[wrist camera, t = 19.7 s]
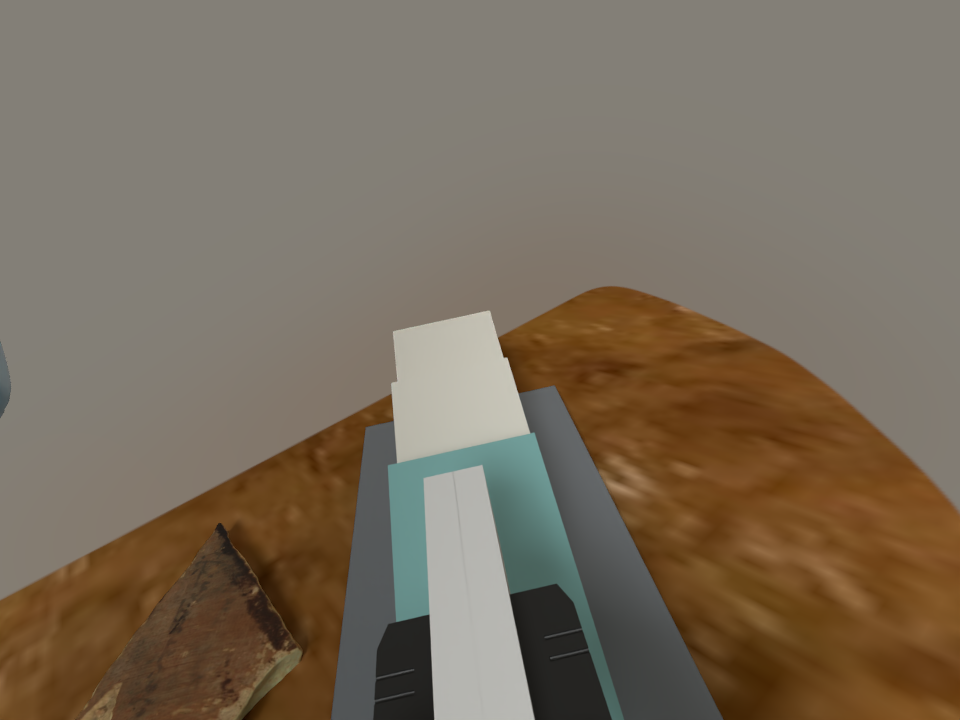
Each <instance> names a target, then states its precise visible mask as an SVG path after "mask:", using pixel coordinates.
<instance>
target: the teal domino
mask: <svg viewBox="0 0 960 720" xmlns="http://www.w3.org/2000/svg"><path fill="white" fill-rule="evenodd" d="M480 465H483V470H484V474H485V479H486V483H487V487H488V492H489V496H490V501H491V505H492V510H493V514H494V519H495V523H496V528H497V532H498V536H499V541H500V545H501V550H502V555H503V560H504V565H505V569H506V574H507V579H508V584H509V589H510V594H513V593H518V592H522V591H526V590H531V589H535V588H539V587H544V586H548V585H552V584H558V585H559V586H560V588H561V589H562V590H563V591H564V592H565V593H566V594H567V595H568V597H569V598H570V599H571V600H572V601H573V602H574V605H575V608H576V611H577V614H578V617H579V620H580V623H581V626H582V630H583V632H584V636H585V639H586V642H587V645H588V648H589V652H590V654H591V657H592V660H593V663H594V666H595V669H596V672H597V675H598V678H599V681H600V684H601V687H602V690H603V693H604V697H605V700H606V703H607V706H608V709H609V712H610V715H611V718H612V720H624V718H623V714H622V711H621V708H620V705H619V702H618V698H617V695H616V692H615V689H614V686H613V682H612V679H611V676H610V673H609V670H608V666H607V663H606V660H605V657H604V654H603V650H602V647H601V644H600V641H599V638H598V634H597V631H596V628H595V625H594V622H593V618H592V615H591V612H590V609H589V606H588V602H587V599H586V596H585V593H584V590H583V586H582V583H581V580H580V577H579V574H578V570H577V567H576V564H575V561H574V558H573V554H572V551H571V548H570V545H569V542H568V538H567V535H566V532H565V529H564V526H563V522H562V519H561V516H560V513H559V510H558V506H557V503H556V500H555V497H554V494H553V490H552V487H551V484H550V481H549V478H548V474H547V471H546V468H545V465H544V462H543V458H542V455H541V452H540V449H539V446H538V442H537V439H536V436H535V433H530V434H526V435H522V436H517V437H513V438H508V439H504V440H499V441H495V442H490V443H486V444H481V445H477V446H472V447H468V448H463V449H459V450H454V451H450V452H445V453H441V454H436V455H432V456H427V457H423V458H418V459H414V460H410V461H405V462H401V463H396V464H392V465H388V479H389V498H390V516H391V535H392V553H393V572H394V590H395V609H396V622H399V621H403V620H407V619H412V618H416V617H420V616H425V615H429V614H430V612H429V590H428V568H427V546H426V523H425V501H424V479H423V478H426V477H431V476H435V475H440V474H444V473H448V472H453V471H457V470H462V469H466V468H471V467H475V466H480Z"/></svg>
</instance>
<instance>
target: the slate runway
mask: <svg viewBox="0 0 960 720" xmlns="http://www.w3.org/2000/svg"><path fill="white" fill-rule="evenodd" d="M518 395H519V398H520V401H521V405H522V408H523V411H524V414H525V418H526V421H527V424H528V428H529V431H530V433H535V436H536V439H537V442H538V446H539V449H540V452H541V455H542V458H543V462H544V465H545V468H546V471H547V474H548V478H549V481H550V484H551V487H552V490H553V494H554V497H555V500H556V503H557V506H558V510H559V513H560V516H561V519H562V522H563V526H564V529H565V532H566V535H567V538H568V542H569V545H570V548H571V551H572V554H573V558H574V561H575V564H576V567H577V570H578V574H579V577H580V580H581V583H582V586H583V590H584V593H585V596H586V599H587V602H588V606H589V609H590V612H591V615H592V618H593V622H594V625H595V628H596V631H597V634H598V638H599V641H600V644H601V647H602V650H603V654H604V657H605V660H606V663H607V666H608V670H609V673H610V676H611V679H612V682H613V686H614V689H615V692H616V695H617V698H618V702H619V705H620V708H621V711H622V714H623V718H624V720H723V718H722V716H721V714H720V712H719V710H718V708H717V706H716V704H715V702H714V700H713V698H712V696H711V694H710V692H709V690H708V688H707V686H706V684H705V682H704V680H703V678H702V676H701V675H700V673H699V671H698V669H697V667H696V665H695V663H694V661H693V659H692V657H691V655H690V653H689V651H688V649H687V647H686V645H685V643H684V641H683V639H682V637H681V635H680V633H679V631H678V629H677V627H676V625H675V623H674V621H673V619H672V617H671V615H670V613H669V611H668V609H667V607H666V605H665V603H664V601H663V599H662V597H661V595H660V593H659V591H658V589H657V587H656V585H655V583H654V581H653V579H652V577H651V575H650V574H649V572H648V570H647V568H646V566H645V564H644V562H643V560H642V558H641V556H640V554H639V552H638V550H637V548H636V546H635V544H634V542H633V540H632V538H631V536H630V534H629V532H628V530H627V528H626V526H625V524H624V522H623V520H622V518H621V516H620V514H619V512H618V510H617V508H616V506H615V504H614V502H613V500H612V498H611V496H610V494H609V492H608V490H607V488H606V486H605V484H604V482H603V480H602V478H601V476H600V474H599V473H598V471H597V469H596V467H595V465H594V463H593V461H592V459H591V457H590V455H589V453H588V451H587V449H586V447H585V445H584V443H583V441H582V439H581V437H580V435H579V433H578V431H577V429H576V427H575V425H574V423H573V421H572V419H571V417H570V415H569V413H568V411H567V409H566V407H565V405H564V403H563V401H562V399H561V397H560V395H559V393H558V391H557V389H556V387H555V386H550V387H546V388H541V389H537V390H532V391H528V392H523V393H519V394H518ZM396 463H397V454H396V441H395V428H394V421H392V422H388V423H383V424H378V425H374V426H369V427H366V431H365V439H364V448H363V456H362V464H361V473H360V481H359V490H358V498H357V506H356V515H355V523H354V531H353V540H352V548H351V557H350V565H349V573H348V582H347V590H346V598H345V607H344V615H343V624H342V632H341V640H340V649H339V657H338V666H337V674H336V682H335V691H334V699H333V707H332V716H331V720H373V715H374V705H375V700H374V696H375V682H376V657H377V648H378V646H379V644H380V641H381V639H382V637H383V634H384V632H385V630H386V628H387V625H388V624H390V623H394V622H396V609H395V590H394V572H393V553H392V535H391V516H390V498H389V479H388V465H392V464H396Z"/></svg>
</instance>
